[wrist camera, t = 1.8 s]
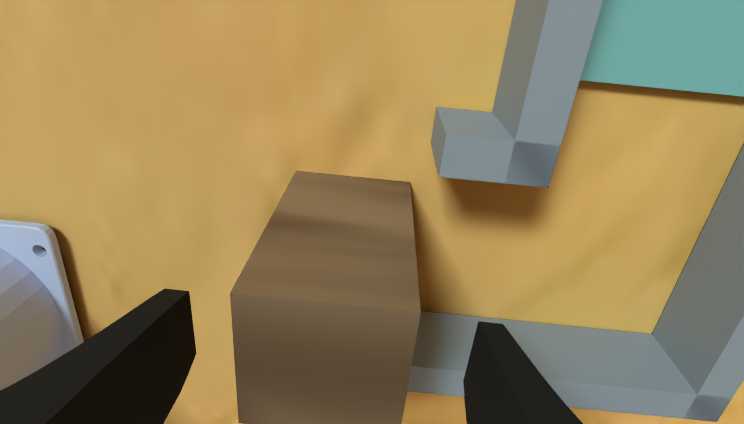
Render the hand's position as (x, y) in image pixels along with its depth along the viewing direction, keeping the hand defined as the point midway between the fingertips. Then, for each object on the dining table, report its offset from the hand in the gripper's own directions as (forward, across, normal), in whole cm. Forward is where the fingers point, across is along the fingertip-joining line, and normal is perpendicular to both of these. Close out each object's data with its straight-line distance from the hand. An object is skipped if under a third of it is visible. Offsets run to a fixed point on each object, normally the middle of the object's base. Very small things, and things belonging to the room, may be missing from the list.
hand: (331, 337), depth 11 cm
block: (+6, 0, 0) cm, 6 cm away
